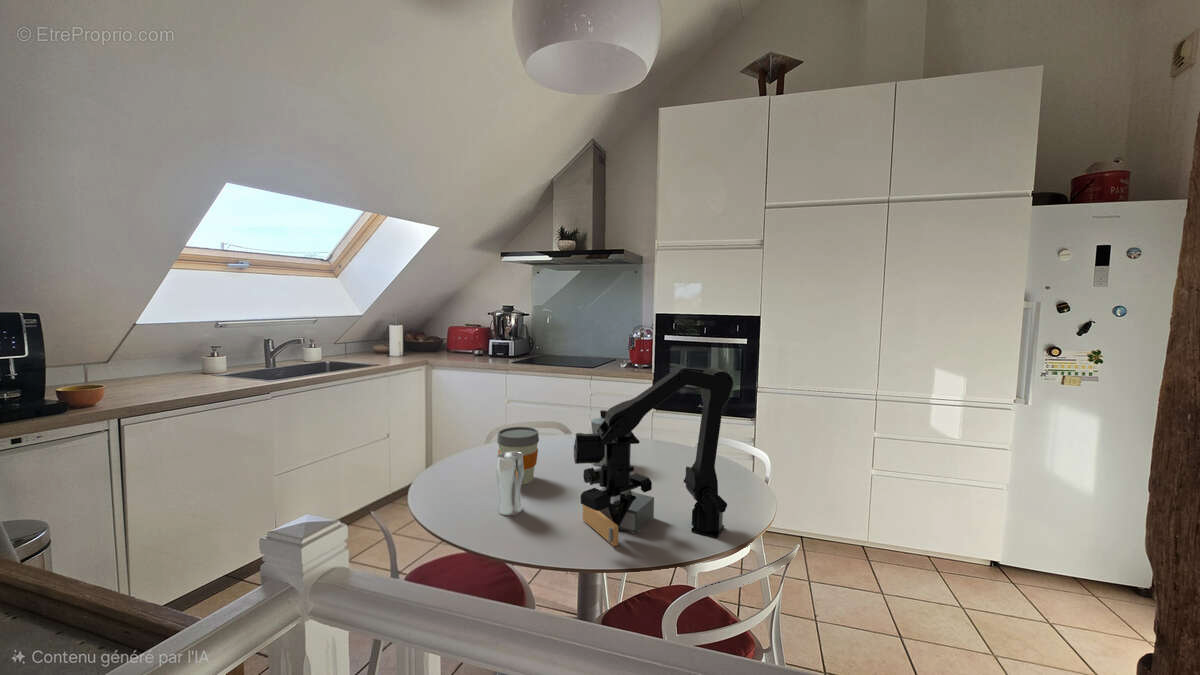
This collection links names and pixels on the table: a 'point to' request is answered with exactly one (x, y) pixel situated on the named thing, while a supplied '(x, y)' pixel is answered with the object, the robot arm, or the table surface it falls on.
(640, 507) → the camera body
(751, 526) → the table surface
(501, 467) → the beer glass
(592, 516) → the side door
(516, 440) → the reusable coffee cup
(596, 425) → the coffee maker
